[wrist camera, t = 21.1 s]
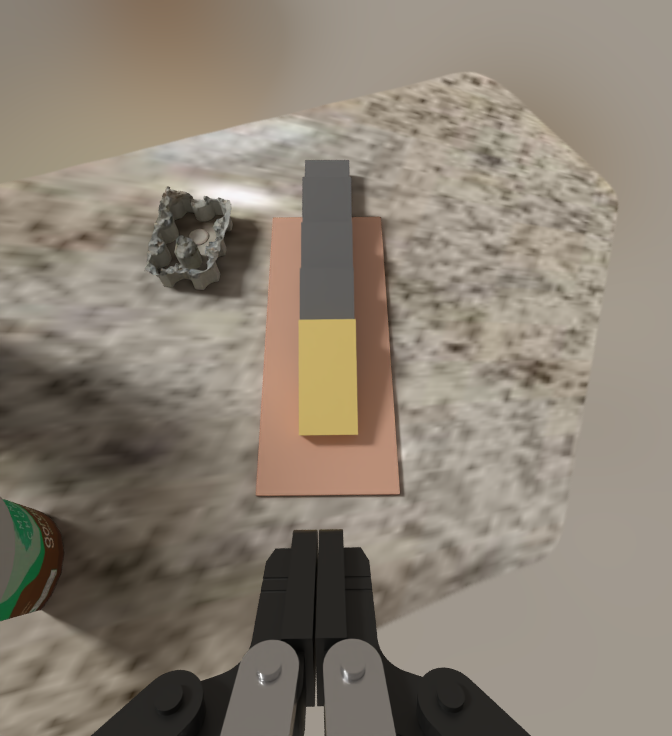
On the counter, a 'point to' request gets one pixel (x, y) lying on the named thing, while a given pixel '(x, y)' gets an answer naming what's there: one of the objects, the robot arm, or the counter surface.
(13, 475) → the counter surface
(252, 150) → the counter surface
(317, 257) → the charcoal domino
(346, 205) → the charcoal domino
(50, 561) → the food container
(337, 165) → the charcoal domino
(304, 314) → the charcoal domino
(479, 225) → the counter surface
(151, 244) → the egg carton
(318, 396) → the ochre domino
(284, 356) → the terracotta mat
